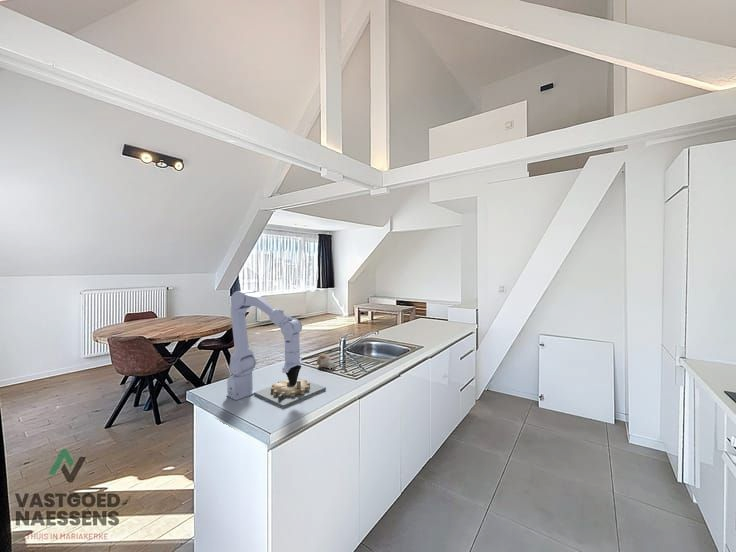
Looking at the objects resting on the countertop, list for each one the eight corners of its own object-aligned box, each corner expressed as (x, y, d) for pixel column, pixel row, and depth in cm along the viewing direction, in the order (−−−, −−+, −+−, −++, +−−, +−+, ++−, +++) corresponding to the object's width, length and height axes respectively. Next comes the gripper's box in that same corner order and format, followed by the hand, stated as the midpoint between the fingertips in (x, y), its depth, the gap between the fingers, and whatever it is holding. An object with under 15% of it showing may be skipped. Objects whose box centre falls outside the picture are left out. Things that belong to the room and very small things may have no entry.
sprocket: (286, 400, 120) (286, 388, 120) (263, 390, 130) (262, 379, 130) (317, 387, 133) (317, 377, 132) (294, 379, 143) (294, 369, 143)
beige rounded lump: (329, 372, 158) (320, 354, 160) (321, 375, 165) (312, 359, 167) (340, 365, 163) (331, 348, 165) (332, 369, 170) (323, 352, 172)
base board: (283, 408, 117) (283, 400, 116) (254, 395, 129) (254, 388, 129) (325, 390, 134) (325, 383, 134) (296, 380, 146) (296, 373, 146)
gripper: (294, 356, 114) (295, 392, 114) (308, 346, 128) (309, 378, 128) (276, 355, 115) (277, 391, 115) (292, 346, 129) (293, 378, 129)
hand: (293, 384), depth 122 cm, fingers closed
